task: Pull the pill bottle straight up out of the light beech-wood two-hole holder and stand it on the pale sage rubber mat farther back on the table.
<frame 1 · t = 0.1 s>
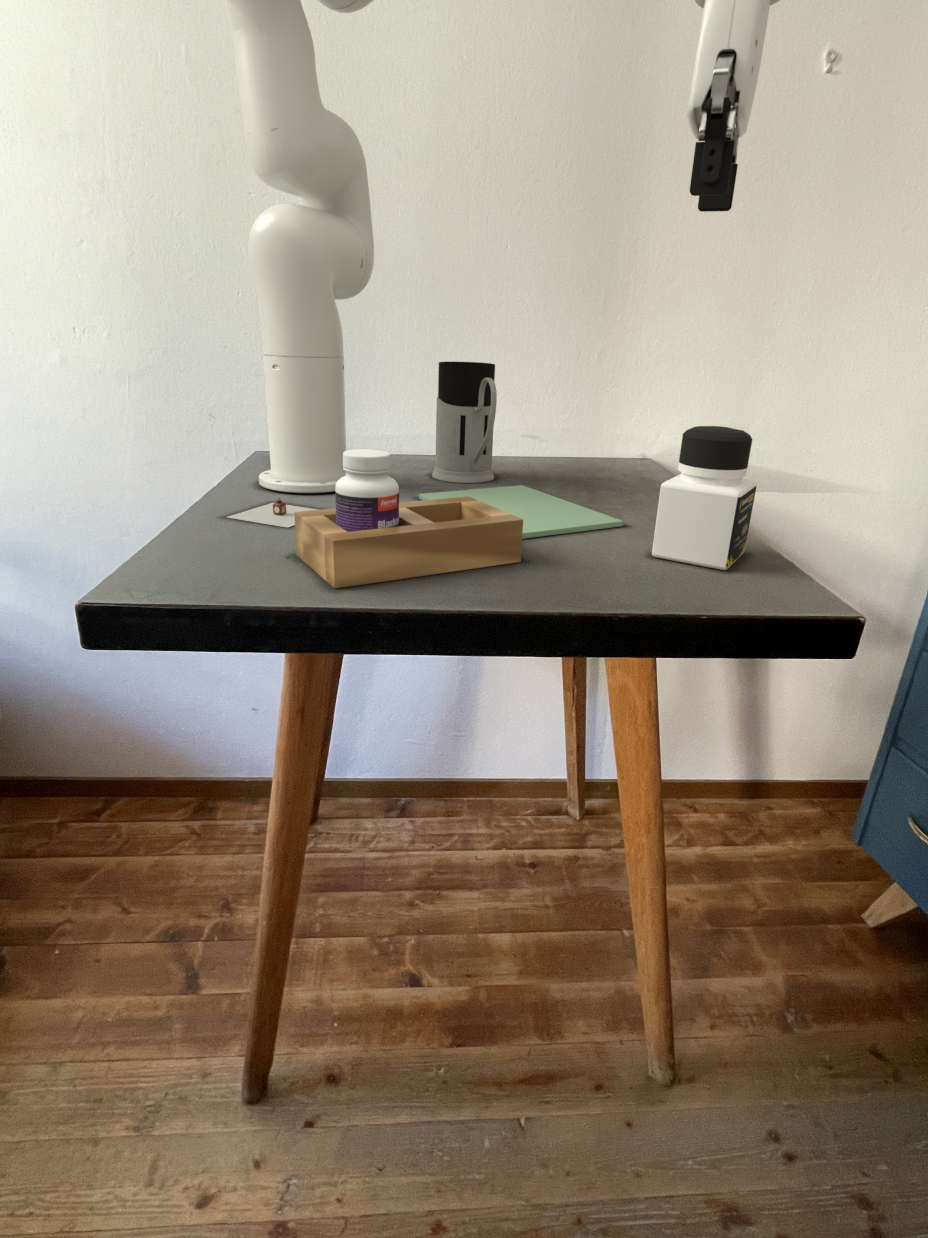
hand: (711, 203, 69), 31 cm above the table, tool pointing down, fingers open, 9 cm apart
glass holder: (470, 481, 101), on the table
holder: (408, 558, 67), on the table
pill bottle: (368, 566, 65), resting in holder
mat: (515, 511, 85), on the table
medicine bottle: (697, 557, 71), on the table
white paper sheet: (280, 516, 80), on the table
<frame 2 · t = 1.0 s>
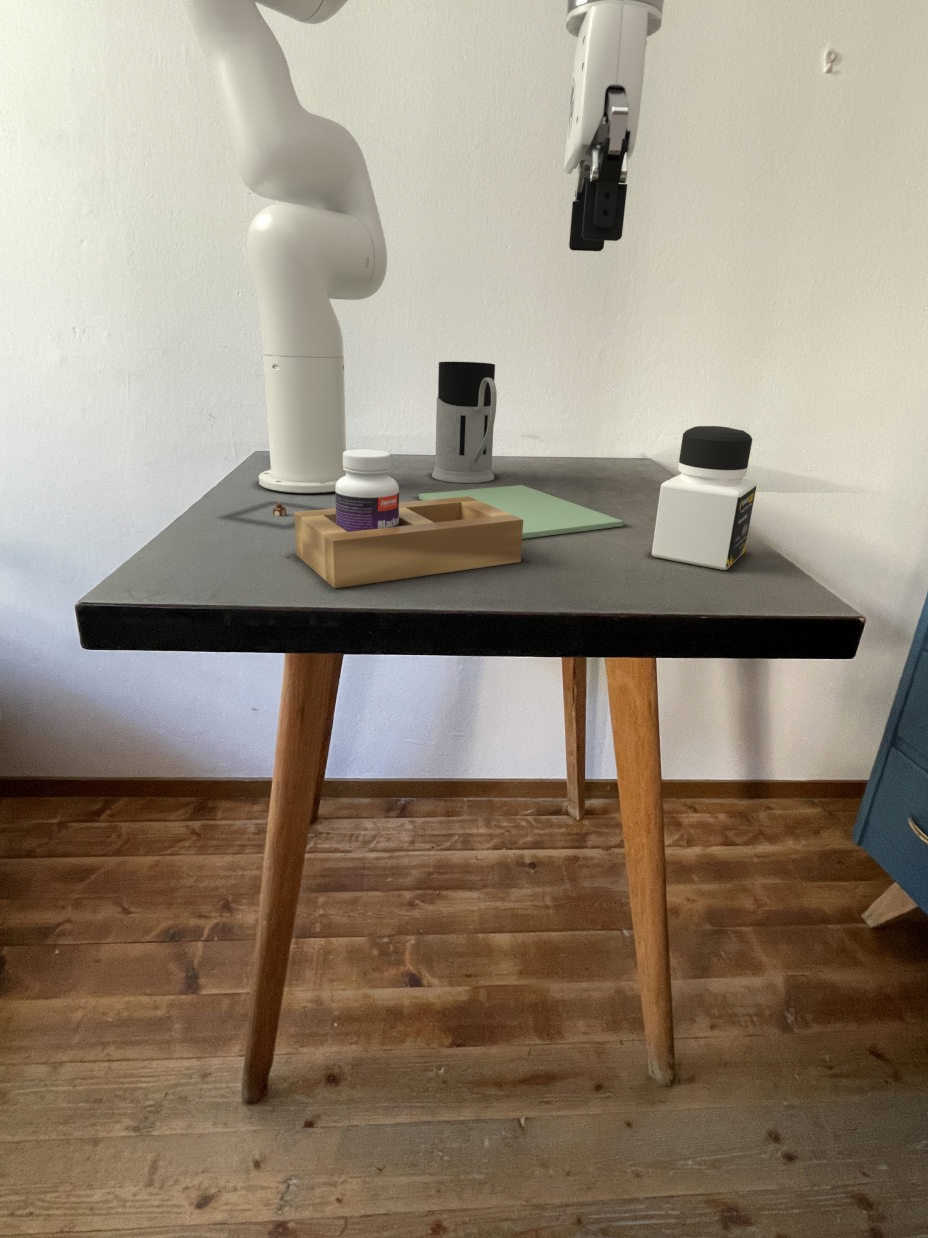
hand: (593, 245, 65), 27 cm above the table, tool pointing down, fingers open, 9 cm apart
nothing on the table moved.
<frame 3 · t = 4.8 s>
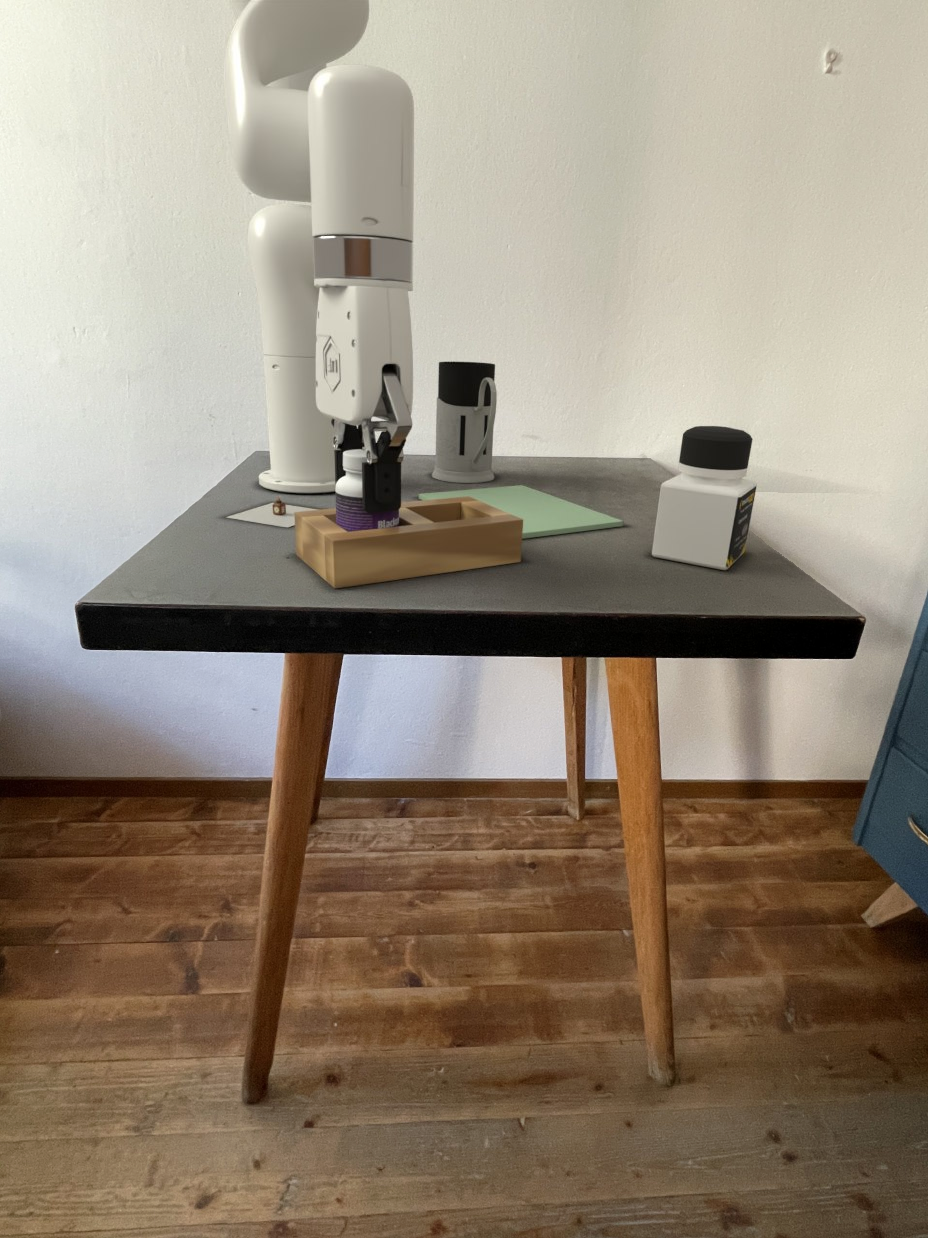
hand: (367, 500, 63), 6 cm above the table, tool pointing down, fingers closed on pill bottle, 5 cm apart
pill bottle: (368, 566, 65), resting in holder, touching gripper
everything else where it was.
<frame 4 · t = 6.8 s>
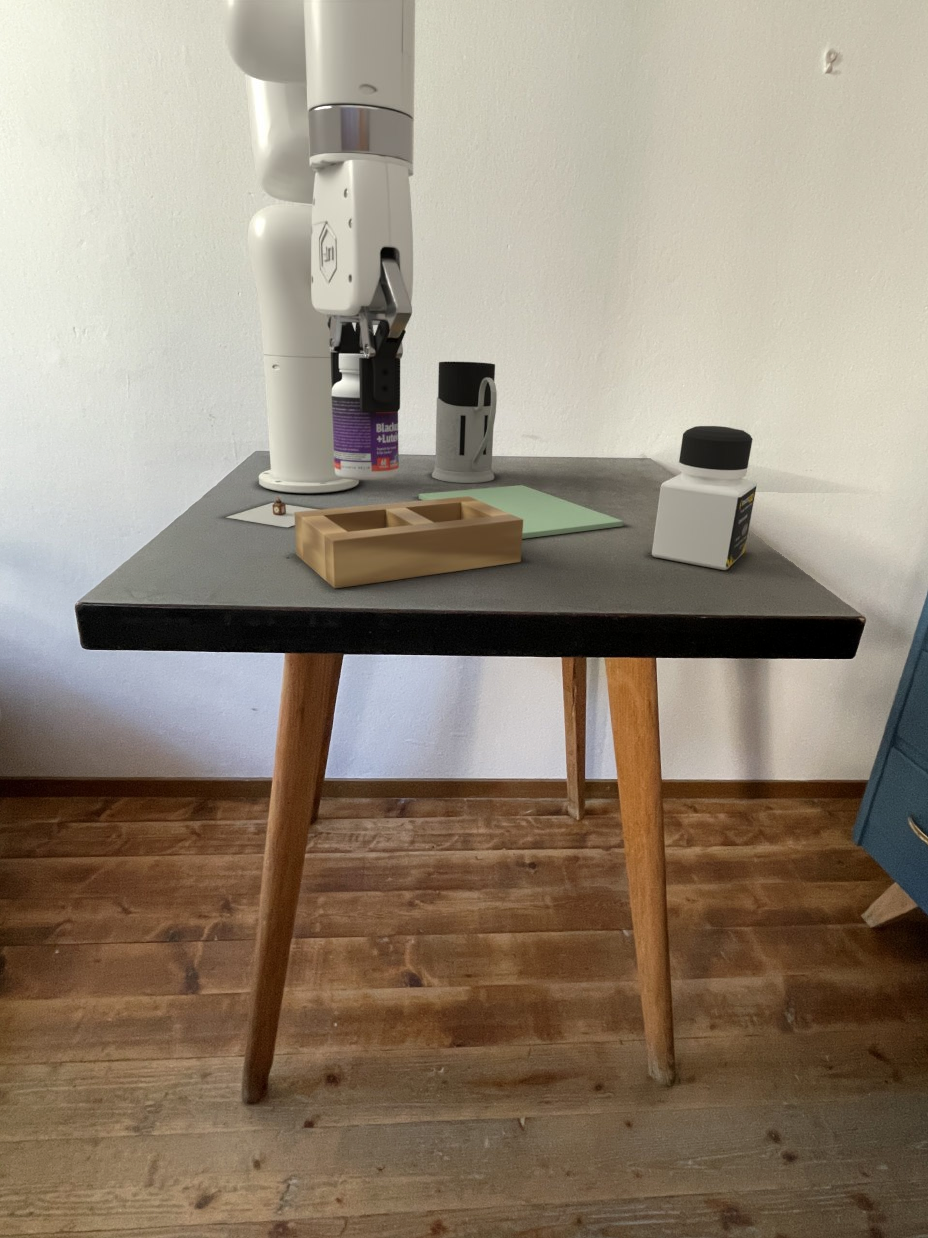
hand: (364, 404, 60), 14 cm above the table, tool pointing down, fingers closed on pill bottle, 5 cm apart
pill bottle: (367, 478, 62), point 8 cm above the table, touching gripper
everything else where it was.
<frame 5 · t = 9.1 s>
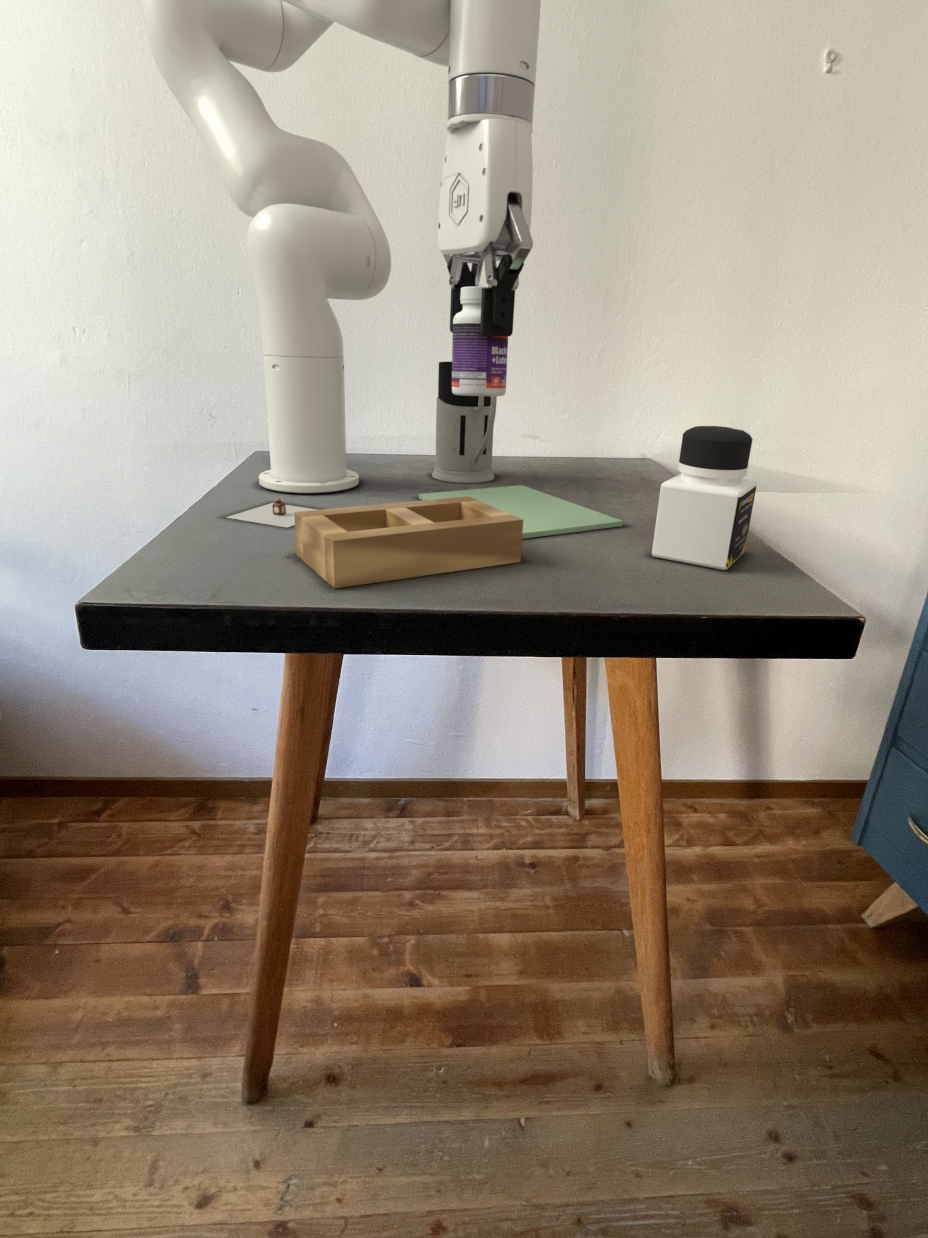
hand: (480, 332, 71), 19 cm above the table, tool pointing down, fingers closed on pill bottle, 5 cm apart
pill bottle: (478, 397, 73), point 13 cm above the table, touching gripper
everything else where it was.
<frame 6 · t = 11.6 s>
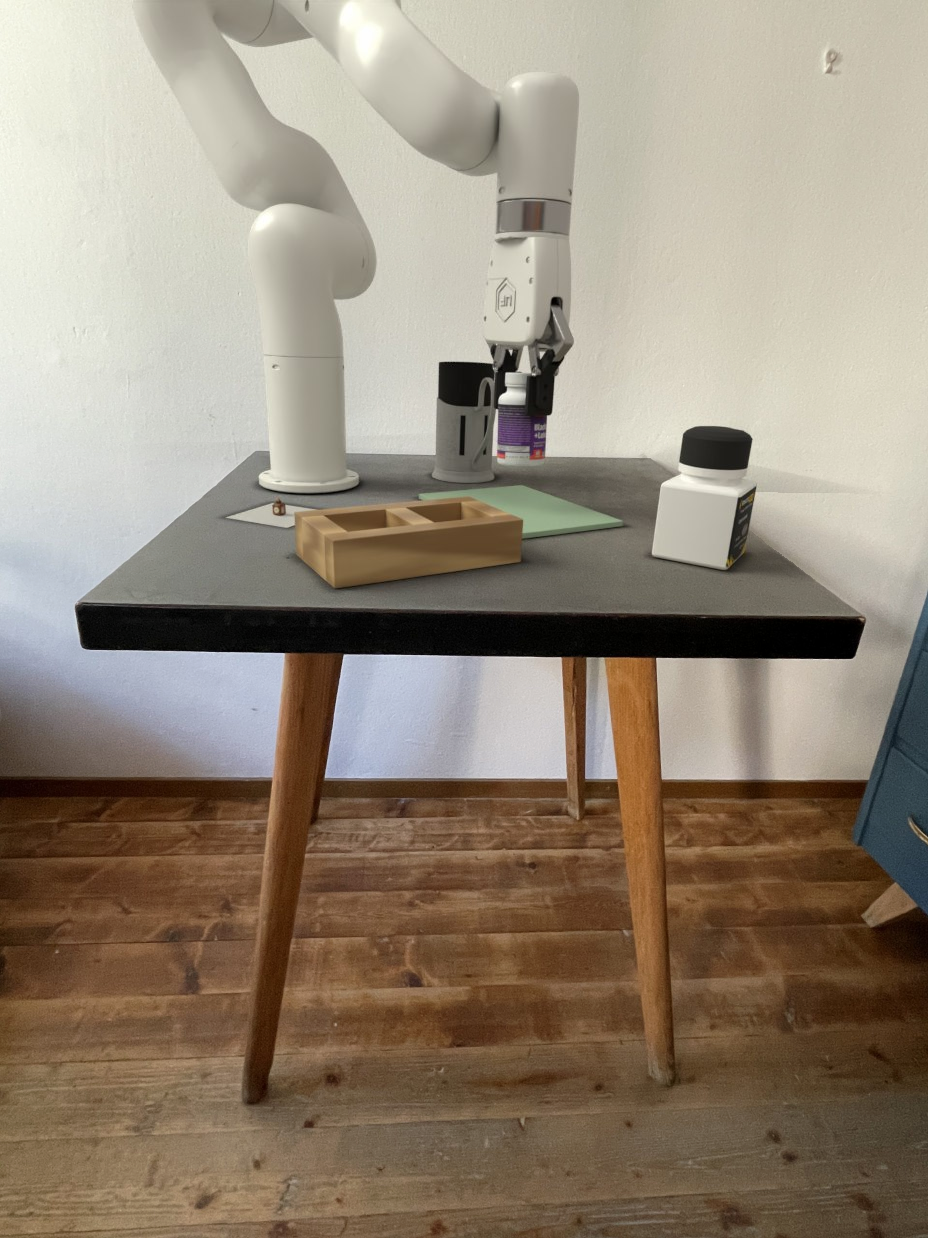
hand: (522, 410, 81), 11 cm above the table, tool pointing down, fingers closed on pill bottle, 5 cm apart
pill bottle: (520, 465, 83), point 5 cm above the table, touching gripper
everything else where it was.
when the fingers open (6 cm above the table, at t = 13.3 s): pill bottle stays where it is, resting on mat.
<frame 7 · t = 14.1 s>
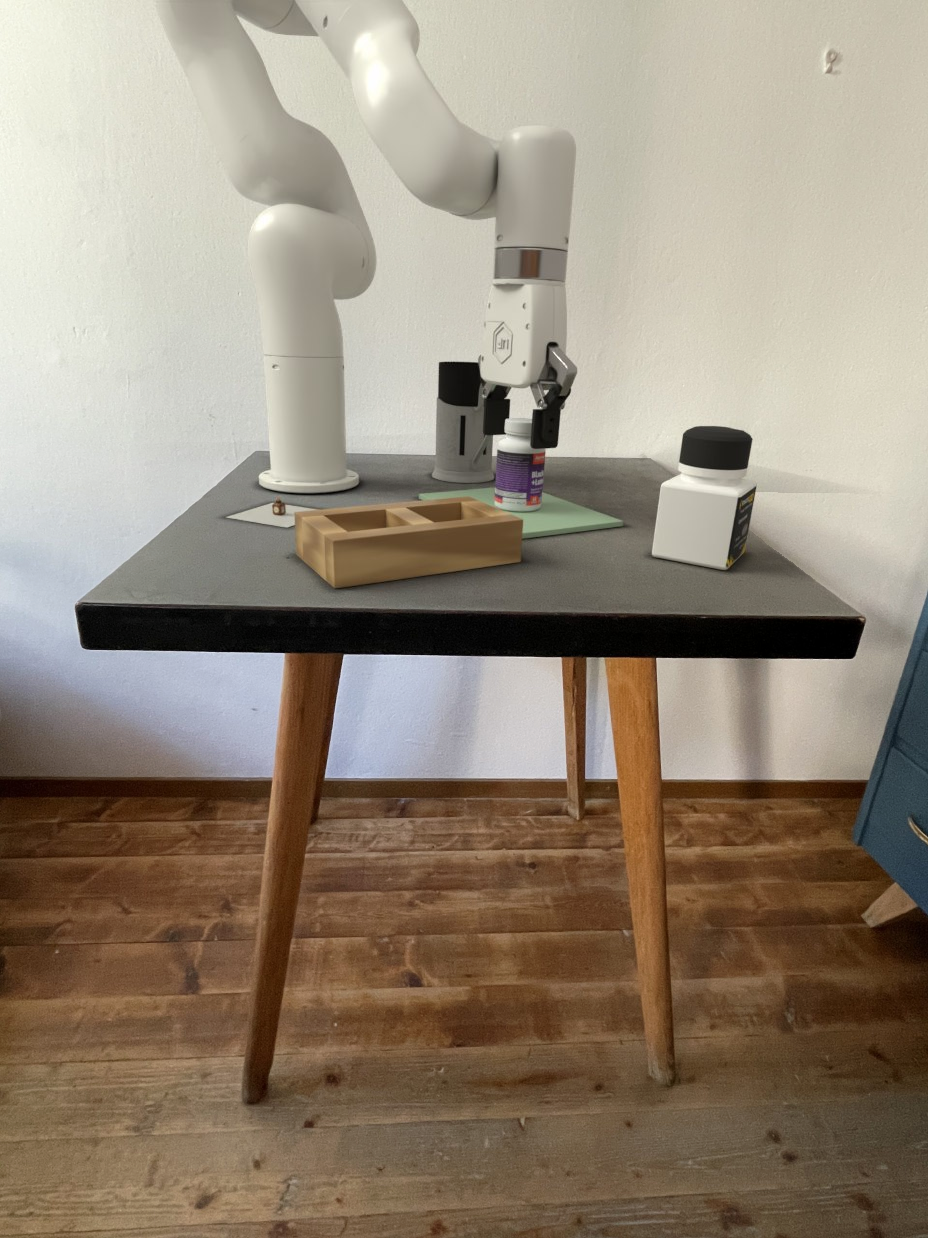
hand: (518, 440, 82), 8 cm above the table, tool pointing down, fingers open, 9 cm apart
pill bottle: (517, 508, 85), resting on mat
everything else where it was.
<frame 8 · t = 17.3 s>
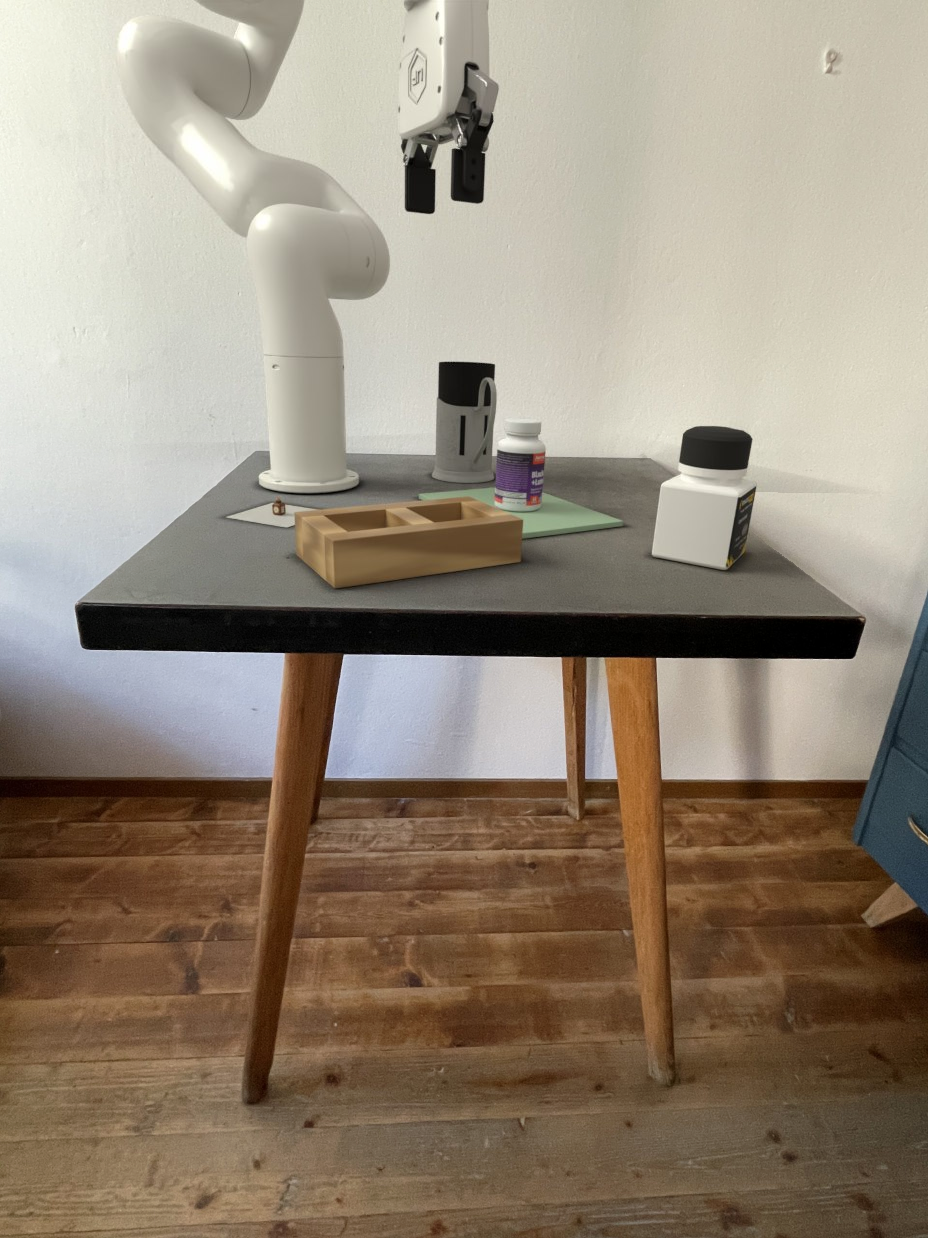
hand: (442, 207, 71), 30 cm above the table, tool pointing down, fingers open, 9 cm apart
nothing on the table moved.
at the end: pill bottle inside the target area on the mat (0.4 cm from its centre), point 0.4 cm above the mat's base; pill bottle tilted 0°; the gripper is holding nothing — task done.
